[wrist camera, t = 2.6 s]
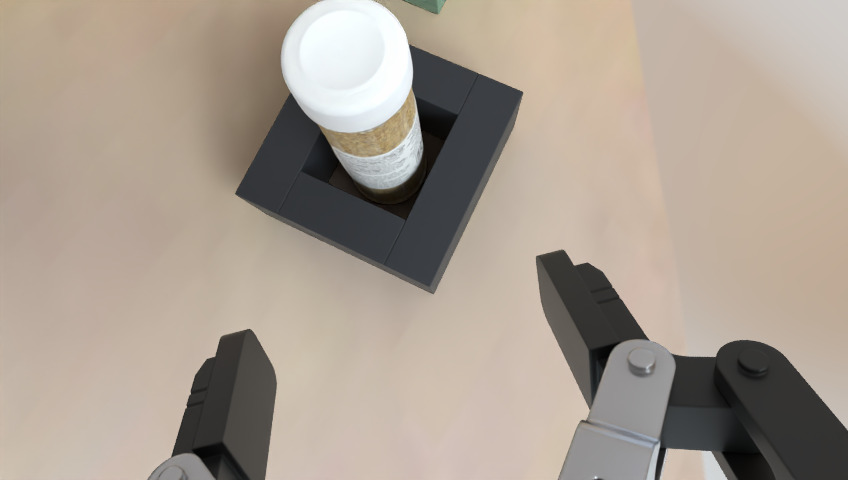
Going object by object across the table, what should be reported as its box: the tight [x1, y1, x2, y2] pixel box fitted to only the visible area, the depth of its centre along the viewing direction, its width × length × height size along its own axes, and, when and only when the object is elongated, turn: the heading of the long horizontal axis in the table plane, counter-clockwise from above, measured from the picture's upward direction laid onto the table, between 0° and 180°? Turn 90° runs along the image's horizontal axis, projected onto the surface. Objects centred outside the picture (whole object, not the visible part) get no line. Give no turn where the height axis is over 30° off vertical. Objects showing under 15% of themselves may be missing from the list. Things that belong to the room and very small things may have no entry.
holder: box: [235, 44, 523, 294], centre depth 29 cm, size 11×11×4 cm
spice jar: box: [281, 0, 427, 204], centre depth 25 cm, size 5×5×13 cm
